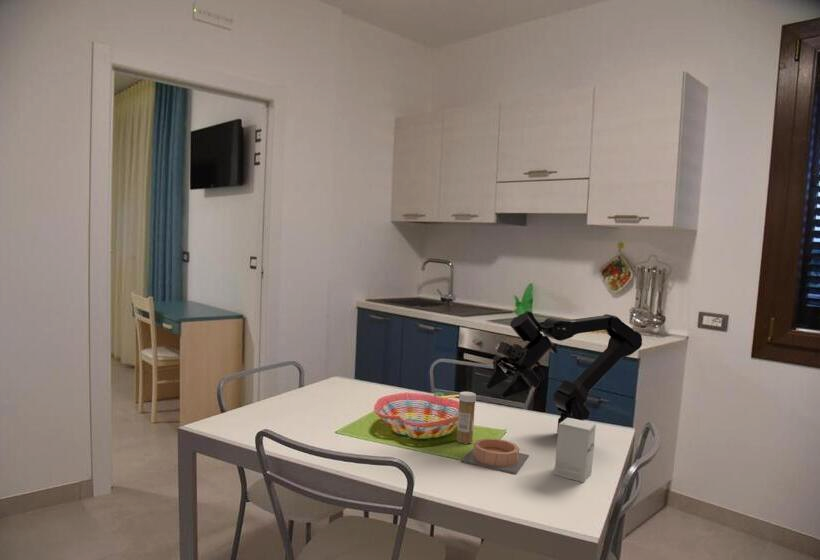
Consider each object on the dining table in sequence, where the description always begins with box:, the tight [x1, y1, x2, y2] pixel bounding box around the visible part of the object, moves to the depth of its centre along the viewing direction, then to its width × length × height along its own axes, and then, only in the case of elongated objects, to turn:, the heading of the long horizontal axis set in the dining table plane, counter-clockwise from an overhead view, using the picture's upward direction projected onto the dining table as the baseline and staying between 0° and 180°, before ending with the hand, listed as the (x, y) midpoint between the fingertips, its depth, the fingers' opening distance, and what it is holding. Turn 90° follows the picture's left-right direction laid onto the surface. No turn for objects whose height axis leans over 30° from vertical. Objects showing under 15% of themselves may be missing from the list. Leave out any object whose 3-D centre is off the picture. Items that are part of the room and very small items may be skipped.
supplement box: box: [553, 418, 597, 483], centre depth 139 cm, size 7×7×13 cm
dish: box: [460, 437, 530, 475], centre depth 146 cm, size 14×14×3 cm
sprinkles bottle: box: [456, 391, 477, 445], centre depth 157 cm, size 5×5×14 cm
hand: (494, 392), depth 159 cm, fingers open, 9 cm apart
